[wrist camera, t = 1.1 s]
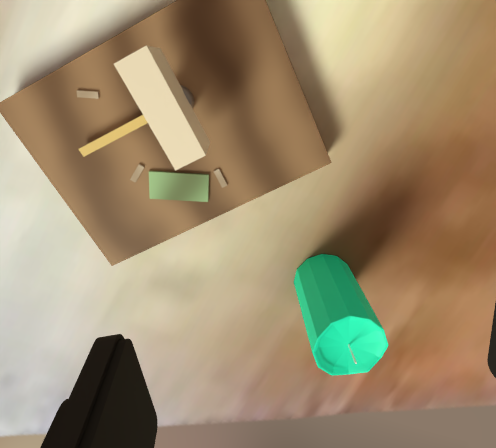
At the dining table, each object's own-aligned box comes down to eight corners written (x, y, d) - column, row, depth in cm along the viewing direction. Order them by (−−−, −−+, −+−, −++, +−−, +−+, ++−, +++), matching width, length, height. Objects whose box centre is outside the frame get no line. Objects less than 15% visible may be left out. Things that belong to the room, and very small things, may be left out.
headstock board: (247, -33, 28) (248, -43, 26) (325, 156, 34) (332, 163, 32) (12, 102, 32) (-8, 105, 29) (119, 253, 37) (111, 267, 35)
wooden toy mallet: (168, 49, 28) (147, 44, 21) (213, 134, 30) (207, 154, 24) (57, 110, 29) (5, 124, 23) (109, 187, 32) (75, 220, 25)
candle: (283, 291, 40) (301, 379, 29) (310, 245, 38) (341, 320, 27) (333, 310, 41) (368, 401, 30) (361, 266, 39) (411, 346, 28)
